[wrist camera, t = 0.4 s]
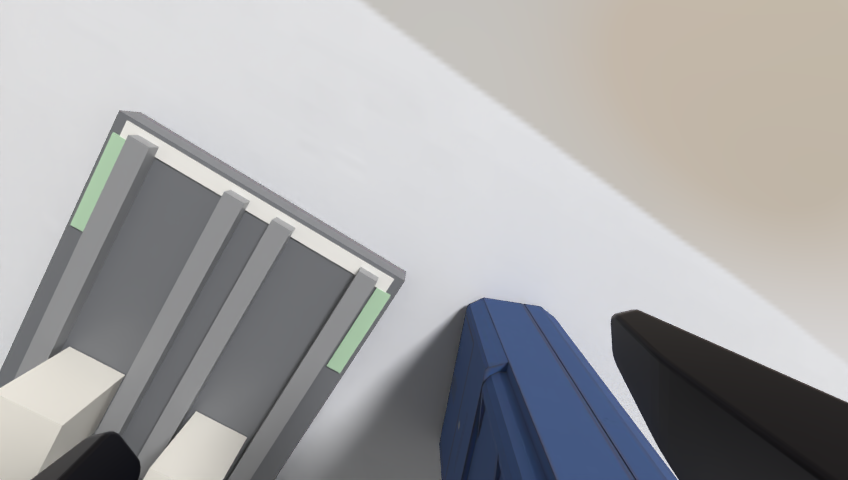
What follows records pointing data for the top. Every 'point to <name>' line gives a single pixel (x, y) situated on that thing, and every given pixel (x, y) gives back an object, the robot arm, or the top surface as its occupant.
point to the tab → (198, 452)
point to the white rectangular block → (52, 411)
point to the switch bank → (202, 299)
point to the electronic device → (534, 406)
